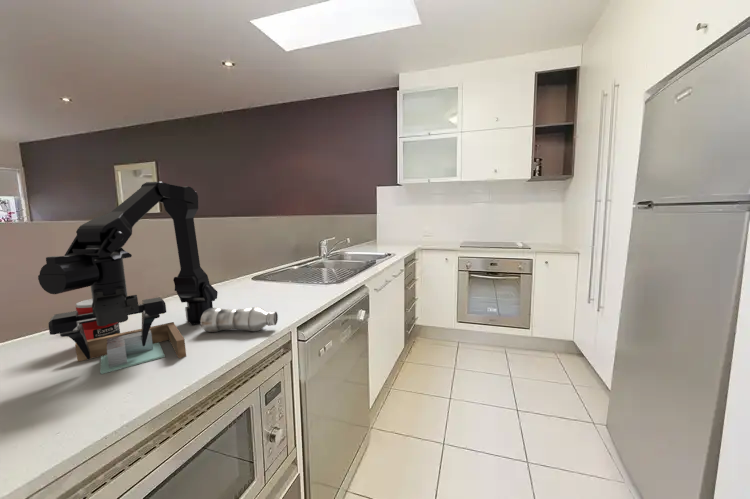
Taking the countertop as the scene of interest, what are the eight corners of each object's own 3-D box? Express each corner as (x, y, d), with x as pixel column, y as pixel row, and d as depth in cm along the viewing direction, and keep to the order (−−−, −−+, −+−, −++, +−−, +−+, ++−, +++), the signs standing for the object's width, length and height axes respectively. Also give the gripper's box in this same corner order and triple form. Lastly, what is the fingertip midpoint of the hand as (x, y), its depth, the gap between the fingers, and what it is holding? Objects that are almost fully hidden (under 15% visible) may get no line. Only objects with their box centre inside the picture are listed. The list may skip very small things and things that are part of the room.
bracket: (109, 355, 72) (107, 338, 71) (152, 345, 77) (150, 329, 76) (109, 368, 66) (106, 350, 65) (155, 356, 71) (153, 339, 70)
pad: (159, 343, 79) (158, 342, 79) (164, 357, 71) (164, 355, 71) (101, 357, 72) (101, 356, 72) (100, 374, 64) (100, 372, 64)
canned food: (98, 349, 76) (92, 305, 75) (72, 347, 78) (66, 304, 77) (128, 337, 84) (123, 297, 82) (104, 335, 85) (99, 296, 84)
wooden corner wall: (175, 336, 83) (173, 321, 83) (186, 356, 71) (184, 339, 71) (78, 359, 71) (75, 342, 71) (72, 387, 59) (69, 367, 59)
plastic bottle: (213, 317, 91) (281, 316, 91) (203, 337, 86) (275, 335, 85) (204, 302, 87) (275, 301, 87) (193, 322, 82) (269, 320, 81)
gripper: (38, 297, 54) (51, 382, 56) (166, 280, 66) (173, 350, 68) (47, 287, 63) (59, 361, 65) (159, 273, 75) (166, 336, 77)
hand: (117, 352), depth 68 cm, fingers open, 9 cm apart
